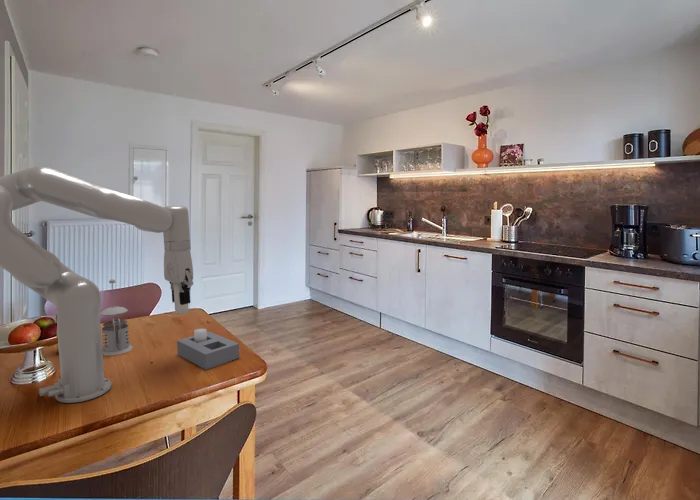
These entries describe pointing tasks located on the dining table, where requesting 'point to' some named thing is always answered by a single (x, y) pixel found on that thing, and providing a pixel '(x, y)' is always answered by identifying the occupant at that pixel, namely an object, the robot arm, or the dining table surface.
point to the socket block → (207, 349)
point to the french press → (115, 331)
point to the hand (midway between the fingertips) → (181, 302)
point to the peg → (179, 308)
